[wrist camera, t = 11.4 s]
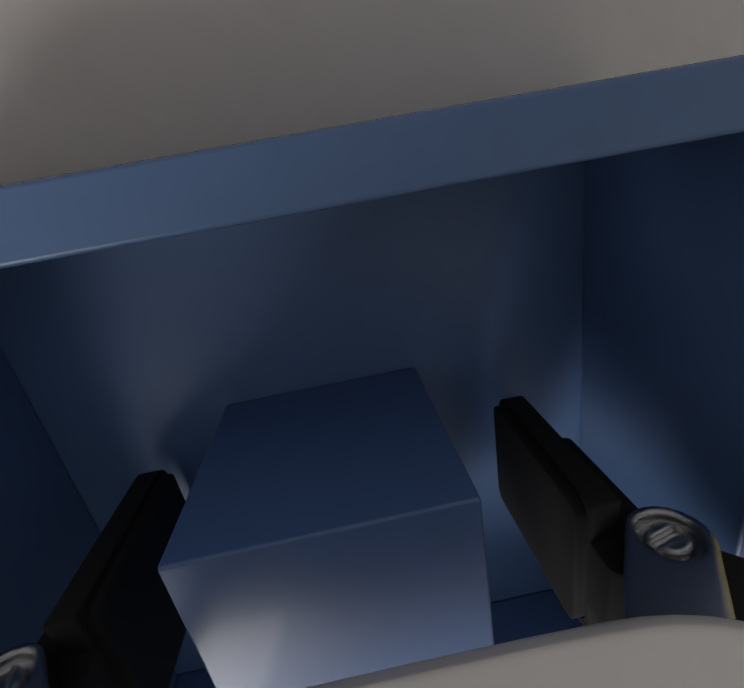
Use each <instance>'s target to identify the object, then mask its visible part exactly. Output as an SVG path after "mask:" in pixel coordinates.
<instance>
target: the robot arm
mask: <svg viewBox="0 0 744 688" xmlns="http://www.w3.org/2000/svg"><path fill="white" fill-rule="evenodd" d="M494 427H495V441H496V456H497V470H498V485H499V491H500V495H501V497H502V500H503V502H504V503H505V505H506V507H507V509H508V511H509V512H510V514H511V516H512V518H513V519H514V521H515V523H516V525H517V526H518V528H519V530H520V532H521V533H522V535H523V537H524V539H525V541H526V542H527V544H528V546H529V548H530V549H531V551H532V553H533V555H534V556H535V558H536V560H537V562H538V564H539V565H540V567H541V569H542V571H543V572H544V574H545V576H546V578H547V579H548V581H549V583H550V585H551V587H552V588H553V590H554V592H555V594H556V595H557V597H558V599H559V601H560V602H561V604H562V606H563V608H564V610H565V611H566V613H567V614H568V616H569V617H570V618H571V619H574V618H578V619H579V621H580V623H581V624H582V626H581V627H576V628H572V629H567V630H562V631H557V632H552V633H547V634H542V635H537V636H532V637H527V638H523V639H518V640H514V641H509V642H505V643H500V644H496V645H491V646H487V647H482V648H478V649H474V650H469V651H465V652H460V653H456V654H451V655H447V656H442V657H438V658H433V659H429V660H424V661H420V662H415V663H411V664H406V665H402V666H398V667H393V668H389V669H385V670H380V671H376V672H372V673H367V674H363V675H358V676H354V677H350V678H345V679H341V680H337V681H332V682H328V683H324V684H319V685H315V686H311V687H306V688H744V558H743V557H739V556H736V555H733V554H730V553H727V552H724V551H721V550H720V546H719V544H718V542H717V539H716V537H715V535H714V534H713V533H712V532H711V531H710V530H709V529H708V528H707V527H706V526H705V525H704V524H702V523H701V522H700V521H698V520H697V519H695V518H694V517H692V516H690V515H687V514H685V513H683V512H681V511H678V510H674V509H671V508H667V507H658V506H650V507H642V508H639V509H638V508H637V507H636V506H635V505H634V504H633V503H632V502H631V501H630V499H629V498H628V497H627V496H626V495H625V494H624V493H623V492H622V491H621V490H620V489H619V488H618V487H617V486H616V485H615V484H614V483H613V482H612V481H611V480H610V479H609V478H608V477H607V476H606V475H605V474H604V473H603V472H602V470H601V469H600V468H599V467H598V466H597V465H596V464H595V463H594V462H593V461H592V460H591V459H590V458H589V457H588V456H587V455H586V454H585V453H584V452H583V451H582V450H581V449H580V448H579V447H578V446H577V445H576V444H575V443H574V442H573V441H572V440H571V439H569V438H562V437H561V436H560V435H559V434H558V433H557V432H556V431H555V430H554V429H553V427H552V426H551V425H550V424H549V423H548V422H547V421H546V420H545V419H544V418H543V417H542V416H541V415H540V414H539V413H538V411H537V410H536V409H535V408H534V407H533V406H532V405H531V404H530V403H529V402H528V401H527V400H526V399H525V398H524V397H523V396H516V397H511V398H507V399H502V400H500V402H499V406H495V407H494ZM184 504H185V499H184V497H183V495H182V492H181V490H180V488H179V485H178V483H177V481H176V478H175V476H174V475H173V474H167V472H166V471H165V470H157V471H152V472H147V473H142V474H139V475H138V476H137V477H136V478H135V480H134V481H133V483H132V485H131V486H130V488H129V489H128V491H127V493H126V494H125V496H124V497H123V499H122V501H121V502H120V504H119V505H118V507H117V509H116V510H115V512H114V513H113V515H112V516H111V518H110V520H109V521H108V523H107V524H106V526H105V528H104V529H103V531H102V532H101V534H100V536H99V537H98V539H97V540H96V542H95V543H94V545H93V547H92V548H91V550H90V551H89V553H88V555H87V556H86V558H85V559H84V561H83V563H82V564H81V566H80V567H79V569H78V570H77V572H76V574H75V575H74V577H73V578H72V580H71V582H70V583H69V585H68V586H67V588H66V590H65V591H64V593H63V594H62V596H61V597H60V599H59V601H58V602H57V604H56V605H55V607H54V609H53V610H52V612H51V613H50V615H49V617H48V618H47V620H46V621H45V623H44V624H43V626H42V628H43V630H44V632H43V634H42V636H41V637H40V639H39V641H38V642H37V643H23V644H20V645H17V646H14V647H11V648H9V649H7V650H5V651H3V652H2V653H0V688H169V686H170V683H171V679H172V676H173V673H174V670H175V666H176V663H177V660H178V656H179V653H180V650H181V646H182V643H183V640H184V637H185V633H186V630H187V629H186V627H185V625H184V623H183V621H182V619H181V617H180V615H179V613H178V611H177V609H176V607H175V605H174V603H173V601H172V599H171V597H170V595H169V593H168V591H167V589H166V587H165V585H164V583H163V581H162V579H161V577H160V575H159V573H158V565H159V563H160V561H161V558H162V556H163V554H164V551H165V549H166V547H167V544H168V542H169V539H170V537H171V535H172V532H173V530H174V528H175V525H176V523H177V521H178V518H179V516H180V514H181V511H182V509H183V507H184Z"/></svg>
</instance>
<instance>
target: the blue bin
mask: <svg viewBox="0 0 744 688" xmlns="http://www.w3.org/2000/svg"><path fill="white" fill-rule="evenodd" d="M409 368H415V369H416V371H417V373H418V375H419V377H420V379H421V381H422V383H423V385H424V387H425V389H426V391H427V393H428V395H429V397H430V399H431V401H432V402H433V404H434V406H435V408H436V410H437V412H438V414H439V416H440V418H441V420H442V422H443V424H444V426H445V428H446V430H447V432H448V434H449V436H450V438H451V440H452V442H453V444H454V446H455V448H456V450H457V452H458V454H459V456H460V458H461V460H462V462H463V464H464V466H465V468H466V470H467V472H468V474H469V476H470V478H471V480H472V482H473V484H474V486H475V488H476V490H477V492H478V494H479V496H480V498H481V503H482V514H483V525H484V536H485V547H486V558H487V569H488V580H489V591H490V602H491V613H492V625H493V636H494V645H496V644H500V643H505V642H509V641H514V640H518V639H523V638H527V637H532V636H537V635H542V634H547V633H552V632H557V631H562V630H567V629H572V628H576V627H581V626H582V624H581V623H580V621H579V619H578V618H574V619H571V618H570V617H569V616H568V614H567V613H566V611H565V610H564V608H563V606H562V604H561V602H560V601H559V599H558V597H557V595H556V594H555V592H554V590H553V588H552V587H551V585H550V583H549V581H548V579H547V578H546V576H545V574H544V572H543V571H542V569H541V567H540V565H539V564H538V562H537V560H536V558H535V556H534V555H533V553H532V551H531V549H530V548H529V546H528V544H527V542H526V541H525V539H524V537H523V535H522V533H521V532H520V530H519V528H518V526H517V525H516V523H515V521H514V519H513V518H512V516H511V514H510V512H509V511H508V509H507V507H506V505H505V503H504V502H503V500H502V497H501V495H500V491H499V485H498V470H497V456H496V441H495V427H494V407H495V406H499V402H500V400H502V399H507V398H511V397H516V396H523V397H524V398H525V399H526V400H527V401H528V402H529V403H530V404H531V405H532V406H533V407H534V408H535V409H536V410H537V411H538V413H539V414H540V415H541V416H542V417H543V418H544V419H545V420H546V421H547V422H548V423H549V424H550V425H551V426H552V427H553V429H554V430H555V431H556V432H557V433H558V434H559V435H560V436H561V437H562V438H569V439H571V440H572V441H573V442H574V443H575V444H576V445H577V446H578V447H579V448H580V449H581V450H582V451H583V452H584V453H585V454H586V455H587V456H588V457H589V458H590V459H591V460H592V461H593V462H594V463H595V464H596V465H597V466H598V467H599V468H600V469H601V470H602V472H603V473H604V474H605V475H606V476H607V477H608V478H609V479H610V480H611V481H612V482H613V483H614V484H615V485H616V486H617V487H618V488H619V489H620V490H621V491H622V492H623V493H624V494H625V495H626V496H627V497H628V498H629V499H630V501H631V502H632V503H633V504H634V505H635V506H636V507H637V508H638V509H639V508H642V507H650V506H658V507H667V508H671V509H674V510H678V511H681V512H683V513H685V514H687V515H690V516H692V517H694V518H695V519H697V520H698V521H700V522H701V523H702V524H704V525H705V526H706V527H707V528H708V529H709V530H710V531H711V532H712V533H713V534H714V535H715V537H716V539H717V542H718V544H719V546H720V550H721V551H724V552H727V553H730V554H733V555H736V556H739V557H743V558H744V55H740V56H734V57H728V58H723V59H717V60H711V61H706V62H700V63H694V64H688V65H683V66H677V67H671V68H666V69H660V70H654V71H649V72H643V73H637V74H632V75H626V76H620V77H614V78H609V79H603V80H597V81H592V82H586V83H580V84H575V85H569V86H563V87H558V88H552V89H546V90H541V91H535V92H529V93H523V94H518V95H512V96H506V97H501V98H495V99H489V100H484V101H478V102H472V103H467V104H461V105H455V106H450V107H444V108H438V109H432V110H427V111H421V112H415V113H410V114H404V115H398V116H393V117H387V118H381V119H376V120H370V121H364V122H358V123H353V124H347V125H341V126H336V127H330V128H324V129H319V130H313V131H307V132H302V133H296V134H290V135H285V136H279V137H273V138H267V139H262V140H256V141H250V142H245V143H239V144H233V145H228V146H222V147H216V148H211V149H205V150H199V151H194V152H188V153H182V154H176V155H171V156H165V157H159V158H154V159H148V160H142V161H137V162H131V163H125V164H120V165H114V166H108V167H102V168H97V169H91V170H85V171H80V172H74V173H68V174H63V175H57V176H51V177H46V178H40V179H34V180H29V181H23V182H17V183H11V184H6V185H0V653H2V652H3V651H5V650H7V649H9V648H11V647H14V646H17V645H20V644H23V643H37V642H38V641H39V639H40V637H41V636H42V634H43V632H44V630H43V628H42V626H43V624H44V623H45V621H46V620H47V618H48V617H49V615H50V613H51V612H52V610H53V609H54V607H55V605H56V604H57V602H58V601H59V599H60V597H61V596H62V594H63V593H64V591H65V590H66V588H67V586H68V585H69V583H70V582H71V580H72V578H73V577H74V575H75V574H76V572H77V570H78V569H79V567H80V566H81V564H82V563H83V561H84V559H85V558H86V556H87V555H88V553H89V551H90V550H91V548H92V547H93V545H94V543H95V542H96V540H97V539H98V537H99V536H100V534H101V532H102V531H103V529H104V528H105V526H106V524H107V523H108V521H109V520H110V518H111V516H112V515H113V513H114V512H115V510H116V509H117V507H118V505H119V504H120V502H121V501H122V499H123V497H124V496H125V494H126V493H127V491H128V489H129V488H130V486H131V485H132V483H133V481H134V480H135V478H136V477H137V476H138V475H139V474H142V473H147V472H152V471H157V470H165V471H166V472H167V474H173V475H174V476H175V478H176V481H177V483H178V485H179V488H180V490H181V492H182V495H183V497H184V499H185V502H186V500H187V497H188V495H189V492H190V490H191V488H192V485H193V483H194V481H195V478H196V476H197V474H198V471H199V469H200V467H201V464H202V462H203V460H204V457H205V455H206V453H207V450H208V448H209V445H210V443H211V441H212V438H213V436H214V434H215V431H216V429H217V427H218V424H219V422H220V420H221V417H222V415H223V413H224V410H225V408H226V406H227V405H231V404H236V403H241V402H246V401H251V400H256V399H261V398H266V397H271V396H276V395H280V394H285V393H290V392H295V391H300V390H305V389H310V388H315V387H320V386H325V385H330V384H335V383H340V382H345V381H350V380H354V379H359V378H364V377H369V376H374V375H379V374H384V373H389V372H394V371H399V370H404V369H409ZM169 688H215V686H214V684H213V682H212V680H211V678H210V676H209V674H208V672H207V670H206V668H205V666H204V664H203V662H202V660H201V658H200V656H199V654H198V652H197V650H196V648H195V646H194V643H193V641H192V639H191V637H190V635H189V633H188V631H187V630H186V633H185V637H184V640H183V643H182V646H181V650H180V653H179V656H178V660H177V663H176V666H175V670H174V673H173V676H172V679H171V683H170V686H169Z"/></svg>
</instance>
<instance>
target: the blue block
mask: <svg viewBox="0 0 744 688" xmlns="http://www.w3.org/2000/svg"><path fill="white" fill-rule="evenodd" d="M158 573H159V575H160V577H161V579H162V581H163V583H164V585H165V587H166V589H167V591H168V593H169V595H170V597H171V599H172V601H173V603H174V605H175V607H176V609H177V611H178V613H179V615H180V617H181V619H182V621H183V623H184V625H185V627H186V629H187V631H188V633H189V635H190V637H191V639H192V641H193V643H194V646H195V648H196V650H197V652H198V654H199V656H200V658H201V660H202V662H203V664H204V666H205V668H206V670H207V672H208V674H209V676H210V678H211V680H212V682H213V684H214V686H215V688H306V687H311V686H315V685H319V684H324V683H328V682H332V681H337V680H341V679H345V678H350V677H354V676H358V675H363V674H367V673H372V672H376V671H380V670H385V669H389V668H393V667H398V666H402V665H406V664H411V663H415V662H420V661H424V660H429V659H433V658H438V657H442V656H447V655H451V654H456V653H460V652H465V651H469V650H474V649H478V648H482V647H487V646H491V645H494V636H493V625H492V613H491V602H490V591H489V580H488V569H487V558H486V547H485V536H484V525H483V514H482V503H481V498H480V496H479V494H478V492H477V490H476V488H475V486H474V484H473V482H472V480H471V478H470V476H469V474H468V472H467V470H466V468H465V466H464V464H463V462H462V460H461V458H460V456H459V454H458V452H457V450H456V448H455V446H454V444H453V442H452V440H451V438H450V436H449V434H448V432H447V430H446V428H445V426H444V424H443V422H442V420H441V418H440V416H439V414H438V412H437V410H436V408H435V406H434V404H433V402H432V401H431V399H430V397H429V395H428V393H427V391H426V389H425V387H424V385H423V383H422V381H421V379H420V377H419V375H418V373H417V371H416V369H415V368H409V369H404V370H399V371H394V372H389V373H384V374H379V375H374V376H369V377H364V378H359V379H354V380H350V381H345V382H340V383H335V384H330V385H325V386H320V387H315V388H310V389H305V390H300V391H295V392H290V393H285V394H280V395H276V396H271V397H266V398H261V399H256V400H251V401H246V402H241V403H236V404H231V405H227V406H226V408H225V410H224V413H223V415H222V417H221V420H220V422H219V424H218V427H217V429H216V431H215V434H214V436H213V438H212V441H211V443H210V445H209V448H208V450H207V453H206V455H205V457H204V460H203V462H202V464H201V467H200V469H199V471H198V474H197V476H196V478H195V481H194V483H193V485H192V488H191V490H190V492H189V495H188V497H187V500H186V502H185V504H184V507H183V509H182V511H181V514H180V516H179V518H178V521H177V523H176V525H175V528H174V530H173V532H172V535H171V537H170V539H169V542H168V544H167V547H166V549H165V551H164V554H163V556H162V558H161V561H160V563H159V565H158Z"/></svg>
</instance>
